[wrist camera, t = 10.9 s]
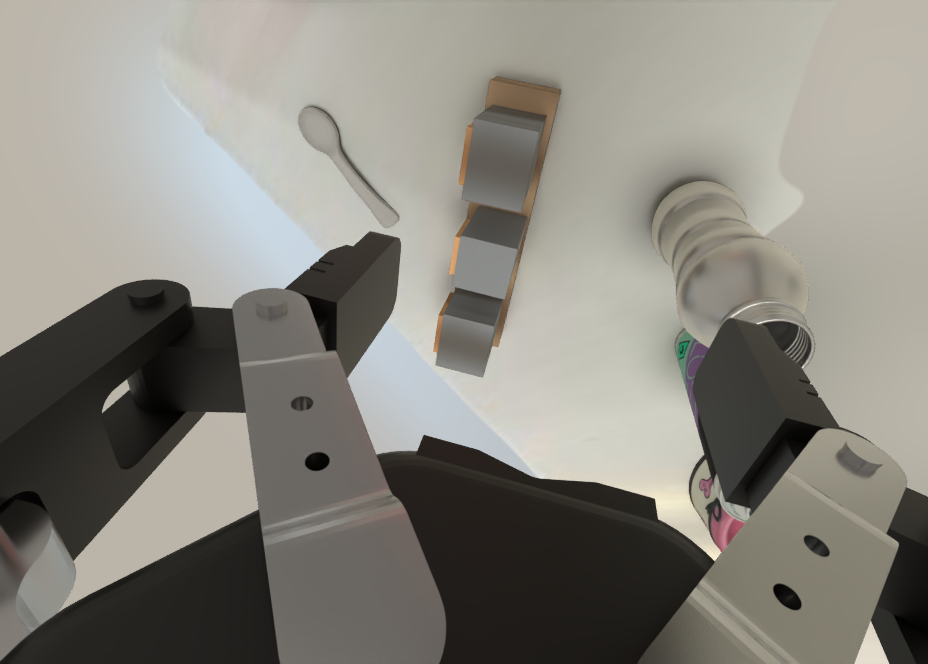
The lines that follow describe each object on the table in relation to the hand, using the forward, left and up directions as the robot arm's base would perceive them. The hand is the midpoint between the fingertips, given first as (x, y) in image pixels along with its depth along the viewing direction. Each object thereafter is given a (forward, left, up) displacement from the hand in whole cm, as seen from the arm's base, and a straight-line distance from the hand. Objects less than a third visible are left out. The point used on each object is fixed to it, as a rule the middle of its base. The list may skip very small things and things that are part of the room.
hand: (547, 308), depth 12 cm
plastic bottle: (+5, +11, -30) cm, 33 cm away
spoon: (+7, -18, -31) cm, 36 cm away
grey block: (+9, -4, -27) cm, 29 cm away
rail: (+9, -4, -30) cm, 32 cm away
